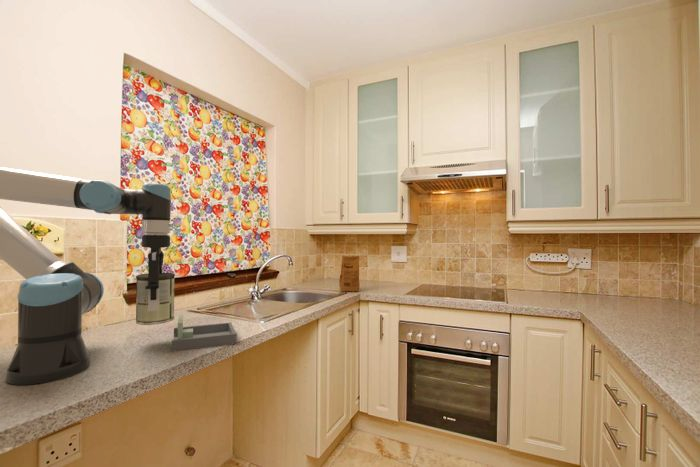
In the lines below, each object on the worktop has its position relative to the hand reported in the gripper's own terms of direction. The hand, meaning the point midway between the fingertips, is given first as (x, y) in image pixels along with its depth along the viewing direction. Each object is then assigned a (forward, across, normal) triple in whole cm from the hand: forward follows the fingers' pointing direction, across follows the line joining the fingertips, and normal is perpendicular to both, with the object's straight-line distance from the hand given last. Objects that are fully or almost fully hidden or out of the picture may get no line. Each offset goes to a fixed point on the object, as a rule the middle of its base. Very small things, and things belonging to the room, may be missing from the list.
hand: (155, 307), depth 101 cm
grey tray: (+12, 0, -14) cm, 18 cm away
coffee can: (+4, 0, 0) cm, 4 cm away
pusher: (+11, 0, -8) cm, 14 cm away
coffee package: (+12, +69, -99) cm, 121 cm away
